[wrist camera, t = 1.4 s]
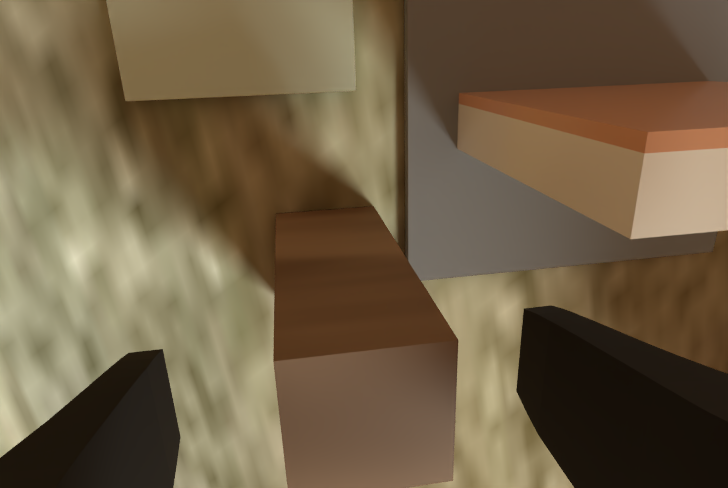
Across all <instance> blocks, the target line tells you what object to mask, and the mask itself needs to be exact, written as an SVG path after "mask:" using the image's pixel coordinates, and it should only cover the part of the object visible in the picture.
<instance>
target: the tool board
mask: <svg viewBox="0 0 728 488" xmlns="http://www.w3.org/2000/svg"><path fill="white" fill-rule="evenodd" d="M106 3H107V9H108V14H109V19H110V24H111V29H112V34H113V40H114V45H115V50H116V55H117V60H118V65H119V71H120V76H121V81H122V86H123V91H124V96H125V101H144V100H166V99H188V98H210V97H232V96H254V95H276V94H297V93H319V92H341V91H356V74H355V47H354V20H353V0H106Z"/></svg>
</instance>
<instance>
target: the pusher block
mask: <svg viewBox="0 0 728 488" xmlns="http://www.w3.org/2000/svg"><path fill="white" fill-rule="evenodd" d="M457 359H458V339H457V337H456V336H455V334H454V333H453V331H452V329H451V328H450V326H449V325H448V323H447V322H446V320H445V318H444V317H443V315H442V314H441V312H440V310H439V309H438V307H437V306H436V304H435V303H434V301H433V299H432V298H431V296H430V295H429V293H428V291H427V290H426V288H425V287H424V285H423V284H422V282H421V280H420V279H419V277H418V276H417V274H416V273H415V271H414V269H413V268H412V266H411V265H410V263H409V261H408V260H407V258H406V257H405V255H404V254H403V252H402V250H401V249H400V247H399V246H398V244H397V242H396V241H395V239H394V238H393V236H392V235H391V233H390V231H389V230H388V228H387V227H386V225H385V224H384V222H383V220H382V219H381V217H380V216H379V214H378V212H377V211H376V209H375V208H374V206H369V207H356V208H343V209H330V210H317V211H304V212H291V213H278V214H276V240H275V301H274V370H275V379H276V388H277V397H278V406H279V415H280V423H281V432H282V441H283V450H284V459H285V468H286V477H287V485H288V488H409V487H415V486H421V485H428V484H434V483H441V482H447V481H453V465H454V438H455V412H456V385H457Z"/></svg>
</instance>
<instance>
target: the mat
mask: <svg viewBox="0 0 728 488" xmlns="http://www.w3.org/2000/svg"><path fill="white" fill-rule="evenodd" d="M404 55H405V257H406V258H407V260H408V261H409V263H410V265H411V266H412V268H413V269H414V271H415V273H416V274H417V276H418V277H419V279H420V280H421V281H422V280H432V279H443V278H453V277H463V276H473V275H483V274H493V273H503V272H513V271H524V270H534V269H544V268H554V267H564V266H574V265H584V264H594V263H605V262H615V261H625V260H635V259H645V258H655V257H665V256H676V255H686V254H696V253H706V252H713V249H714V244H715V240H716V236H717V231H714V232H703V233H693V234H682V235H671V236H660V237H649V238H639V239H629V238H627V237H625V236H623V235H621V234H619V233H618V232H616V231H614V230H612V229H610V228H608V227H606V226H604V225H602V224H600V223H598V222H596V221H595V220H593V219H591V218H589V217H587V216H585V215H583V214H581V213H579V212H577V211H575V210H573V209H572V208H570V207H568V206H566V205H564V204H562V203H560V202H558V201H556V200H554V199H552V198H550V197H549V196H547V195H545V194H543V193H541V192H539V191H537V190H535V189H533V188H531V187H529V186H527V185H526V184H524V183H522V182H520V181H518V180H516V179H514V178H512V177H510V176H508V175H506V174H504V173H503V172H501V171H499V170H497V169H495V168H493V167H491V166H489V165H487V164H485V163H483V162H481V161H480V160H478V159H476V158H474V157H472V156H470V155H468V154H466V153H464V152H462V151H460V150H459V149H457V141H458V110H459V93H467V92H488V91H509V90H530V89H551V88H572V87H593V86H614V85H635V84H656V83H677V82H698V81H717V82H728V0H404Z"/></svg>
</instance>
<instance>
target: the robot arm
mask: <svg viewBox="0 0 728 488" xmlns="http://www.w3.org/2000/svg"><path fill="white" fill-rule="evenodd" d="M517 393H518V395H519V397H520V399H521V401H522V403H523V406H524V408H525V410H526V412H527V414H528V416H529V418H530V420H531V422H532V423H533V425H534V427H535V429H536V431H537V433H538V435H539V436H540V438H541V439H542V441H543V442H544V444H545V445H546V447H547V448H548V450H549V451H550V453H551V454H552V456H553V457H554V459H555V460H556V461H557V463H558V464H559V466H560V467H561V469H562V470H563V472H564V473H565V475H566V476H567V478H568V479H569V480H570V482H571V483H572V485H573V486H574V488H728V374H726V373H724V372H721V371H718V370H715V369H712V368H710V367H707V366H704V365H702V364H699V363H696V362H693V361H691V360H688V359H685V358H683V357H680V356H677V355H675V354H672V353H670V352H667V351H665V350H662V349H660V348H657V347H655V346H652V345H650V344H647V343H645V342H643V341H640V340H638V339H635V338H633V337H631V336H628V335H626V334H623V333H621V332H619V331H616V330H614V329H612V328H609V327H607V326H604V325H602V324H600V323H597V322H595V321H593V320H590V319H588V318H585V317H583V316H580V315H578V314H575V313H572V312H570V311H567V310H564V309H561V308H558V307H555V306H544V307H535V308H526V309H524V314H523V325H522V336H521V347H520V358H519V369H518V380H517ZM179 443H180V433H179V428H178V423H177V418H176V413H175V408H174V403H173V398H172V393H171V388H170V383H169V378H168V373H167V369H166V364H165V359H164V354H163V349H160V350H151V351H142V352H133V353H128V354H127V355H125V356H124V357H123V358H121V359H120V360H119V361H117V362H116V363H115V364H114V365H113V366H111V367H110V368H109V369H108V370H107V371H105V372H104V373H103V374H102V375H101V376H100V377H99V378H97V379H96V380H95V381H94V382H93V383H92V384H90V385H89V386H88V387H87V388H86V389H85V390H83V391H82V392H81V393H80V394H79V395H78V396H76V397H75V398H74V399H73V400H72V401H70V402H69V403H68V404H67V405H66V406H65V407H63V408H62V409H61V410H60V411H59V412H57V413H56V414H55V415H54V416H53V417H52V418H50V419H49V420H48V421H47V422H45V423H44V424H43V425H42V426H40V427H39V428H38V429H37V430H35V431H34V432H33V433H31V434H30V435H29V436H28V437H26V438H25V439H24V440H22V441H21V442H20V443H19V444H17V445H16V446H15V447H14V448H12V449H11V450H10V451H8V452H7V453H6V454H5V455H3V456H2V457H1V458H0V488H173V485H174V478H175V472H176V465H177V458H178V450H179Z"/></svg>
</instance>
